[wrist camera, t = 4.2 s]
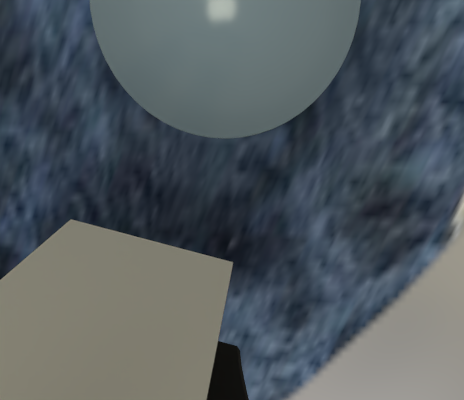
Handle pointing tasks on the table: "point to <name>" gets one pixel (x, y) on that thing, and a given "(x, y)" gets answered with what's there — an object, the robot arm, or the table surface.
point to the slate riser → (225, 58)
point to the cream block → (110, 319)
